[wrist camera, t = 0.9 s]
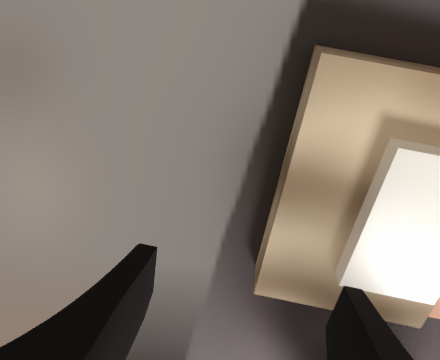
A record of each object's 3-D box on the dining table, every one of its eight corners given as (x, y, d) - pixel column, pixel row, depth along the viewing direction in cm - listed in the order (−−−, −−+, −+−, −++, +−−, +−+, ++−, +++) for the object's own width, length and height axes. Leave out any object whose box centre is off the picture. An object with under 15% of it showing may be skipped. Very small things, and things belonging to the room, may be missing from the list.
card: (425, 288, 20) (433, 305, 19) (335, 270, 20) (338, 285, 19) (501, 158, 16) (517, 170, 15) (390, 137, 16) (398, 147, 15)
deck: (406, 297, 24) (420, 328, 21) (255, 265, 24) (253, 293, 22) (527, 83, 17) (566, 97, 15) (315, 44, 17) (321, 52, 15)
